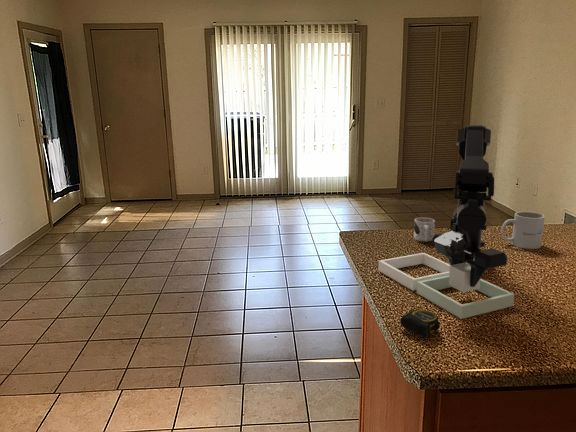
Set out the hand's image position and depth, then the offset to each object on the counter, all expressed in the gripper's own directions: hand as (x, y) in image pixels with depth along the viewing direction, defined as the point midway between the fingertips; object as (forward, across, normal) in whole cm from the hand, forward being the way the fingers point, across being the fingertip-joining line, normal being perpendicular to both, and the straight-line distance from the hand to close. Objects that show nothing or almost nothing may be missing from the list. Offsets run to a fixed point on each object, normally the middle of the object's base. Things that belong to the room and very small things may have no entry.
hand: (464, 282), depth 115 cm
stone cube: (+1, 0, 0) cm, 1 cm away
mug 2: (+5, -25, +47) cm, 53 cm away
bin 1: (+4, -17, 0) cm, 17 cm away
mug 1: (+5, -42, +22) cm, 48 cm away
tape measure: (+5, +9, -20) cm, 22 cm away
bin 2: (+4, 0, 0) cm, 4 cm away
